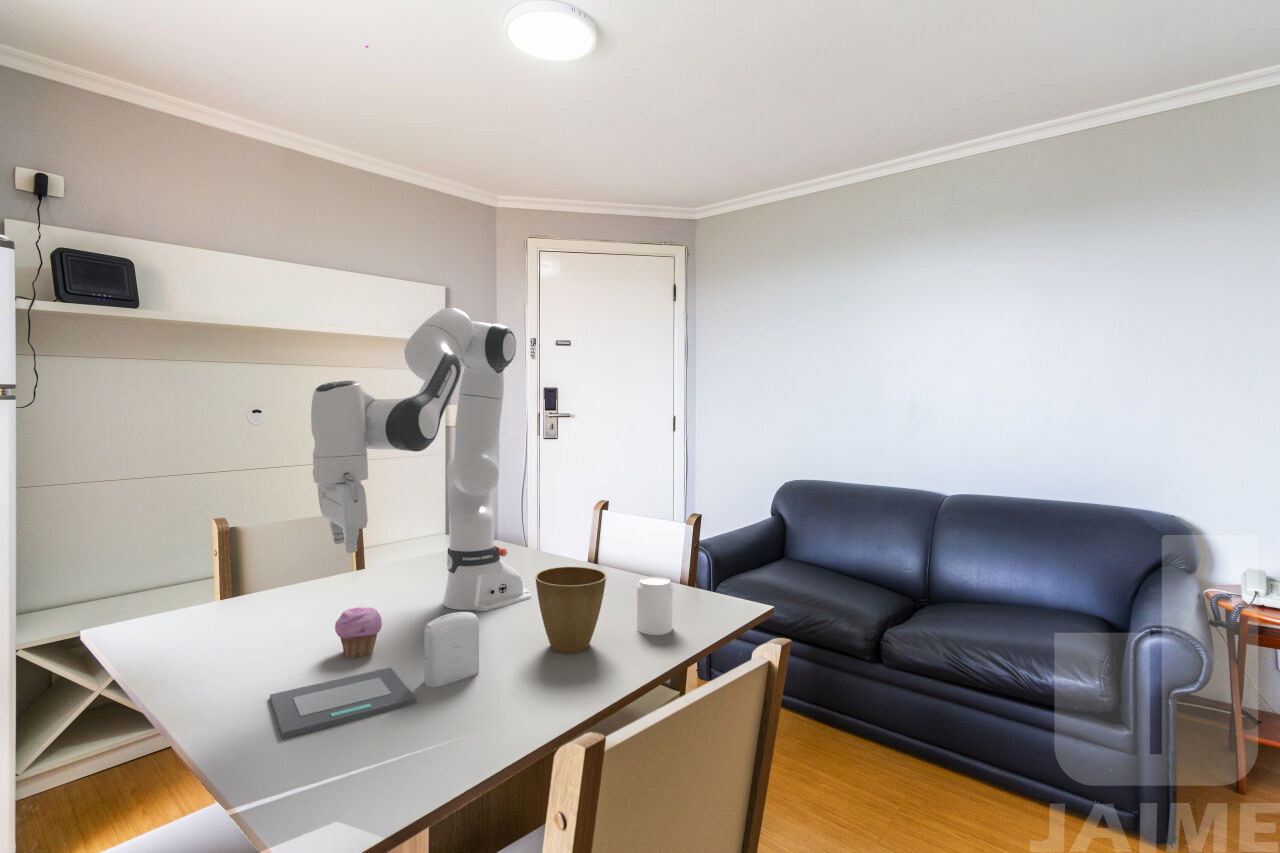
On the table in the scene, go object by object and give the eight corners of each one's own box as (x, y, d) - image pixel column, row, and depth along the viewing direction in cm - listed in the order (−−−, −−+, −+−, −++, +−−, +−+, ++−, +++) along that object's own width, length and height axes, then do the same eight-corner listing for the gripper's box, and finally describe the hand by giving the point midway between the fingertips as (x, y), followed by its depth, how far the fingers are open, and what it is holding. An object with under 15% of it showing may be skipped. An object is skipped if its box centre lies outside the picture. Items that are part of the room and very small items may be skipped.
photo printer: (430, 691, 112) (430, 622, 111) (420, 683, 115) (420, 617, 114) (482, 675, 118) (482, 611, 118) (471, 668, 122) (472, 605, 121)
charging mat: (390, 672, 119) (390, 666, 119) (416, 703, 107) (416, 697, 107) (269, 700, 107) (269, 693, 107) (282, 739, 95) (282, 731, 95)
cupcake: (330, 654, 128) (330, 606, 128) (374, 645, 133) (374, 598, 133) (342, 668, 121) (342, 617, 121) (387, 657, 127) (388, 609, 126)
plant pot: (521, 657, 128) (521, 579, 127) (556, 633, 141) (557, 563, 141) (586, 668, 122) (587, 587, 122) (616, 643, 136) (617, 570, 136)
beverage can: (679, 632, 143) (679, 580, 143) (655, 641, 137) (656, 587, 137) (652, 624, 148) (653, 574, 148) (629, 632, 142) (629, 580, 142)
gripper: (375, 473, 106) (378, 554, 106) (346, 466, 122) (349, 536, 122) (334, 477, 102) (338, 561, 102) (310, 469, 118) (314, 541, 118)
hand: (344, 547), depth 112 cm, fingers open, 8 cm apart
